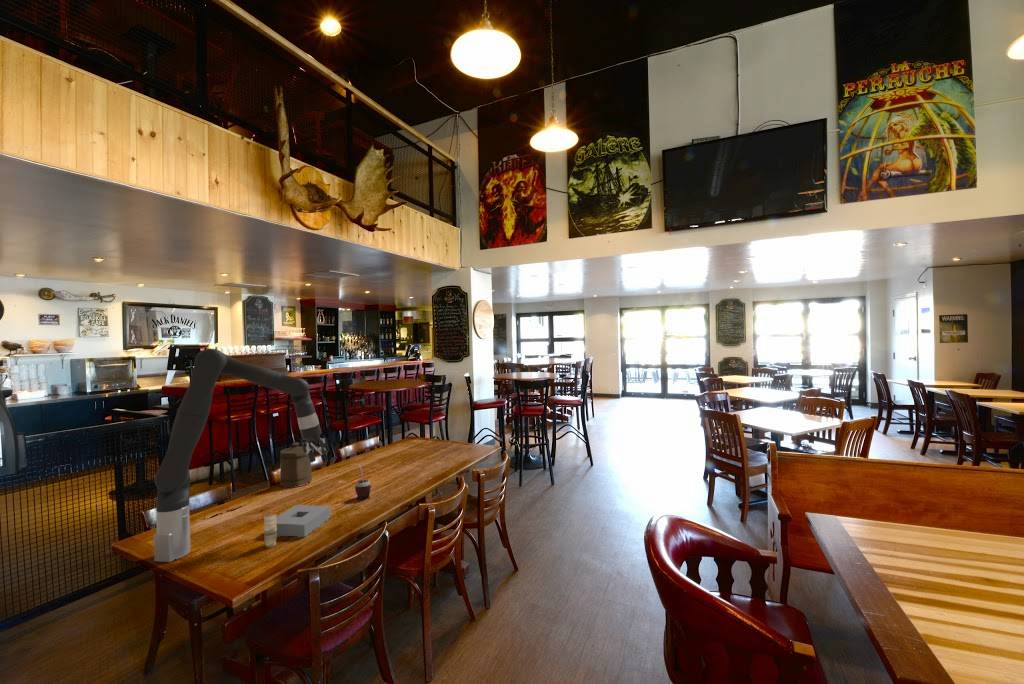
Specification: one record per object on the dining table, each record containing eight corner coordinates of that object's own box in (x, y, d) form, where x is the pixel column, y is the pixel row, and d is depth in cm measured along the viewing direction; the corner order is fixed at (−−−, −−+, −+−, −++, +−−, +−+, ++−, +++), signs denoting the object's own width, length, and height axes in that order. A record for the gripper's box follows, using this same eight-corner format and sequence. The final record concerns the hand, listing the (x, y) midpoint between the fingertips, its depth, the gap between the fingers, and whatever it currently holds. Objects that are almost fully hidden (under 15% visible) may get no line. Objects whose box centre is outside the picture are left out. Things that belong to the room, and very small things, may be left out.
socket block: (304, 537, 162) (304, 524, 162) (266, 535, 164) (266, 523, 164) (330, 517, 180) (330, 506, 180) (295, 516, 182) (295, 505, 182)
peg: (272, 548, 154) (271, 518, 154) (261, 548, 154) (260, 518, 154) (279, 543, 158) (279, 513, 158) (269, 542, 159) (268, 513, 158)
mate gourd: (366, 501, 198) (365, 469, 198) (350, 500, 199) (350, 469, 199) (374, 495, 205) (373, 464, 205) (359, 494, 207) (358, 464, 207)
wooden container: (296, 477, 234) (295, 438, 234) (317, 480, 230) (317, 440, 229) (273, 486, 220) (273, 444, 220) (296, 489, 215) (295, 446, 215)
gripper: (290, 428, 174) (301, 465, 176) (311, 428, 167) (322, 466, 169) (307, 422, 180) (316, 457, 182) (327, 421, 173) (337, 458, 175)
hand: (319, 462), depth 175 cm, fingers open, 8 cm apart
